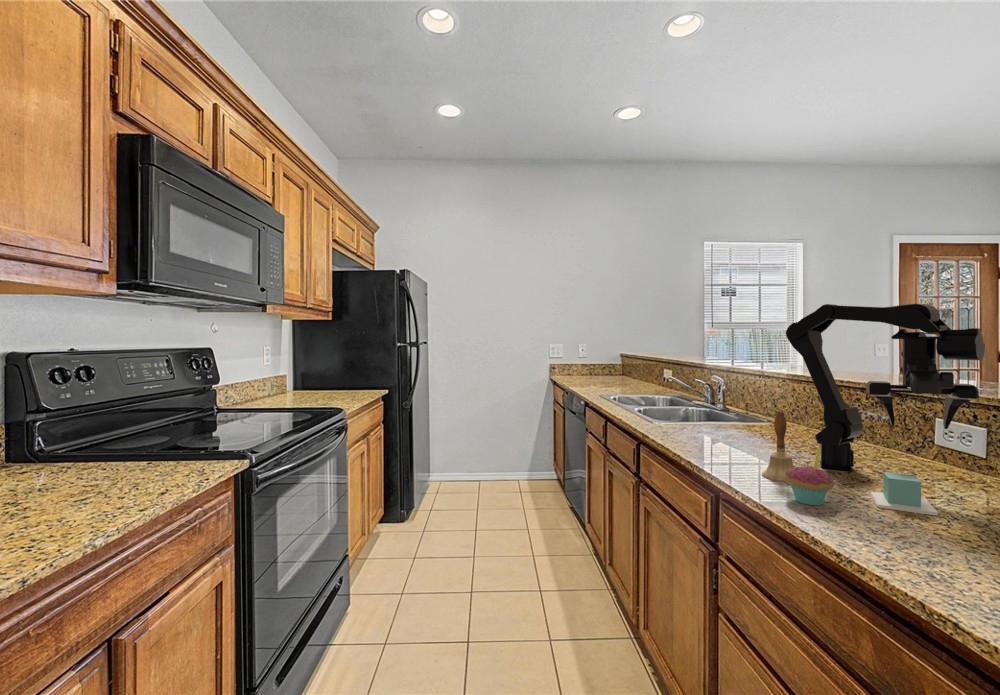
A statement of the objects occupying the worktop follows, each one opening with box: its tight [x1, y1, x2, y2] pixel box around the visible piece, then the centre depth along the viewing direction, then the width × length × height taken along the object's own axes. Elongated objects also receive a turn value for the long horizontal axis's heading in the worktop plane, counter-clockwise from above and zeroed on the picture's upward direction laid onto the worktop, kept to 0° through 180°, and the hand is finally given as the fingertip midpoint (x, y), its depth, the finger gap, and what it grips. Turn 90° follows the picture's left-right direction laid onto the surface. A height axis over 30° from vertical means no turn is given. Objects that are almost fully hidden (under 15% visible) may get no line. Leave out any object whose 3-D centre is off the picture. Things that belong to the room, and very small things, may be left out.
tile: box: [869, 491, 939, 516], centre depth 96 cm, size 9×9×1 cm
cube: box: [883, 471, 922, 507], centre depth 96 cm, size 5×5×5 cm
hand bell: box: [761, 410, 795, 483], centre depth 115 cm, size 8×8×16 cm
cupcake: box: [784, 444, 835, 506], centre depth 98 cm, size 9×8×12 cm
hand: (918, 427), depth 109 cm, fingers open, 9 cm apart
